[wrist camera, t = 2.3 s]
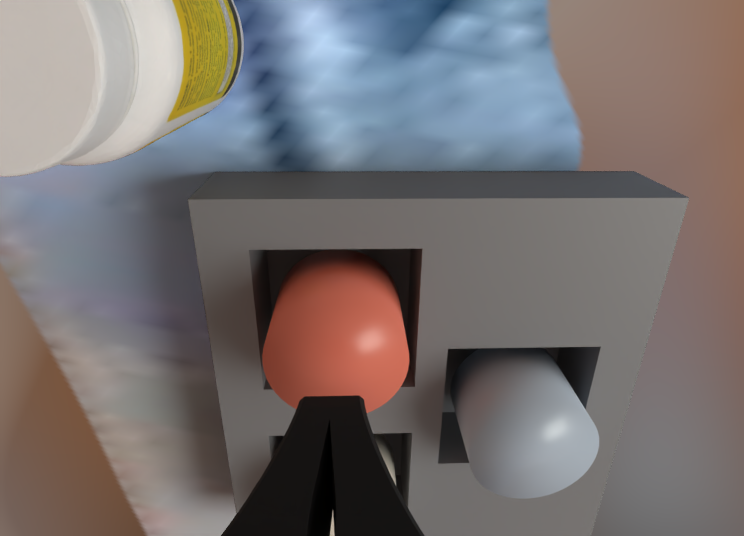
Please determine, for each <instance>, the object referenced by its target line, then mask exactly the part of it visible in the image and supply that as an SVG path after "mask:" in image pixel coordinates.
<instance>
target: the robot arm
mask: <svg viewBox="0 0 744 536" xmlns="http://www.w3.org/2000/svg"><path fill="white" fill-rule="evenodd" d="M332 513H333V518H334V534H335V536H424V534H423V532H422V531H421V529H420V528H419V526H418V524H417V523H416V521H415V519H414V518H413V516H412V514H411V512H410V511H409V509H408V507H407V505H406V503H405V502H404V500H403V498H402V496H401V494H400V492H399V490H398V488H397V487H396V485H395V483H394V481H393V479H392V477H391V475H390V472H389V470H388V468H387V466H386V464H385V461H384V459H383V457H382V455H381V452H380V450H379V448H378V445H377V443H376V440H375V438H374V435H373V432H372V429H371V426H370V423H369V420H368V416H367V413H366V408H365V403H364V399H363V398H362V397H361V396H359V395H353V396H304V397H303V398H302V399H301V400H300V401H299V404H298V406H297V409H296V412H295V414H294V416H293V419H292V421H291V423H290V425H289V427H288V429H287V431H286V433H285V435H284V437H283V439H282V441H281V443H280V445H279V447H278V448H277V450H276V452H275V454H274V456H273V457H272V459H271V461H270V463H269V464H268V466H267V468H266V470H265V471H264V473H263V475H262V476H261V478H260V479H259V481H258V483H257V484H256V486H255V487H254V489H253V490H252V492H251V493H250V495H249V496H248V498H247V500H246V501H245V503H244V504H243V506H242V507H241V509H240V510H239V512H238V513H237V514H236V516H235V517H234V519H233V520H232V521H231V523H230V524H229V526H228V527H227V528H226V530H225V531H224V532H223V534H222V535H221V536H330V530H331V522H332Z"/></svg>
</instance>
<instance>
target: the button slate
mask: <svg viewBox="0 0 744 536" xmlns="http://www.w3.org/2000/svg"><path fill="white" fill-rule="evenodd" d="M451 398H452V402H453V406H454V409H455V413H456V416H457V420H458V424H459V427H460V431H461V434H462V438H463V442H464V445H465V449H466V453H467V456H468V460H469V463H470V467H471V470H472V473H473V475H474V476H475V478H476V479H477V481H478V482H479V483H480V484H481V485H482V486H483V487H485V488H486V489H488V490H489V491H491V492H493V493H495V494H498V495H501V496H505V497H509V498H517V499H528V498H537V497H542V496H546V495H550V494H553V493H555V492H558V491H560V490H562V489H564V488H566V487H568V486H570V485H571V484H573V483H574V482H576V481H577V480H578V479H579V478H580V477H582V476H583V475H584V474H585V473H586V472H587V470H588V469H589V468H590V466H591V465H592V464H593V462H594V460H595V458H596V455H597V453H598V449H599V434H598V431H597V428H596V426H595V424H594V422H593V421H592V419H591V418H590V416H589V414H588V413H587V411H586V410H585V408H584V406H583V405H582V403H581V402H580V400H579V398H578V397H577V395H576V394H575V392H574V390H573V389H572V387H571V386H570V384H569V382H568V381H567V379H566V378H565V376H564V374H563V373H562V371H561V370H560V368H559V367H558V365H557V363H556V362H555V360H554V359H553V357H552V356H551V355H550V354H549V353H548V352H547V351H546V350H545V349H543V348H541V347H538V348H480V349H478V350H476V351H475V352H473V353H472V354H470V355H469V356H468V357H467V358H466V359H465V360H464V361H463V362H462V363H461V364H460V366H459V367H458V369H457V370H456V372H455V374H454V376H453V379H452V383H451Z"/></svg>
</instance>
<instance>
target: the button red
mask: <svg viewBox="0 0 744 536" xmlns="http://www.w3.org/2000/svg"><path fill="white" fill-rule="evenodd" d="M262 362H263V369H264V373H265V376H266V378H267V380H268V382H269V384H270V386H271V387H272V389H273V390H274V392H275V393H276V394H277V395H278V396H279V397H280V398H281V399H282V400H283V401H285V402H286V403H287V404H288V405H290V406H292V407H293V408H295V409H297V406H298V404H299V401H300V400H301V399H302V398H303V397H304V396H353V395H359V396H361V397H362V398H363V399H364V403H365V408H366V413H369V412H371V411H373V410H375V409H377V408H379V407H381V406H382V405H383V404H385V403H386V402H388V401H389V400H390V399H391V398H392V397H393V396H394V395H395V394H396V393H397V391H398V390H399V389H400V387H401V386H402V384H403V382H404V380H405V378H406V375H407V372H408V367H409V350H408V345H407V339H406V334H405V328H404V323H403V317H402V312H401V306H400V301H399V295H398V290H397V287H396V284H395V282H394V280H393V278H392V277H391V275H390V274H389V272H388V271H387V270H386V269H385V268H384V267H383V266H382V265H381V264H380V263H379V262H377V261H376V260H374V259H373V258H371V257H369V256H367V255H365V254H363V253H360V252H356V251H352V250H347V249H329V250H324V251H320V252H317V253H314V254H311V255H309V256H307V257H305V258H304V259H302V260H301V261H299V262H298V263H297V264H296V265H294V266H293V267H292V268H291V270H290V271H289V272H288V273H287V275H286V276H285V278H284V280H283V282H282V284H281V287H280V290H279V294H278V297H277V301H276V304H275V308H274V311H273V315H272V319H271V322H270V326H269V329H268V333H267V336H266V340H265V344H264V347H263V354H262Z"/></svg>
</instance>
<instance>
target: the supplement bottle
mask: <svg viewBox="0 0 744 536" xmlns="http://www.w3.org/2000/svg"><path fill="white" fill-rule="evenodd" d="M243 51H244V42H243V31H242V26H241V21H240V17H239V14H238V11H237V9H236V6H235V4H234V2H233V0H0V177H11V176H22V175H28V174H33V173H36V172H39V171H42V170H45V169H48V168H51V167H54V166H56V165H59V164H60V165H74V166H82V165H95V164H101V163H106V162H110V161H114V160H117V159H120V158H122V157H125V156H128V155H130V154H132V153H134V152H136V151H138V150H140V149H142V148H144V147H146V146H147V145H149V144H151V143H153V142H154V141H156V140H158V139H160V138H161V137H163V136H165V135H167V134H169V133H171V132H173V131H175V130H177V129H178V128H180V127H182V126H184V125H186V124H188V123H189V122H191V121H193V120H195V119H197V118H199V117H201V116H203V115H205V114H206V113H208V112H210V111H211V110H212V109H214V108H215V107H216V106H217V105H219V104H220V103H221V102H222V101H223V99H224V98H225V97H226V96H227V95H228V93H229V92H230V90H231V89H232V87H233V85H234V83H235V81H236V79H237V77H238V74H239V71H240V68H241V64H242V59H243Z"/></svg>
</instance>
